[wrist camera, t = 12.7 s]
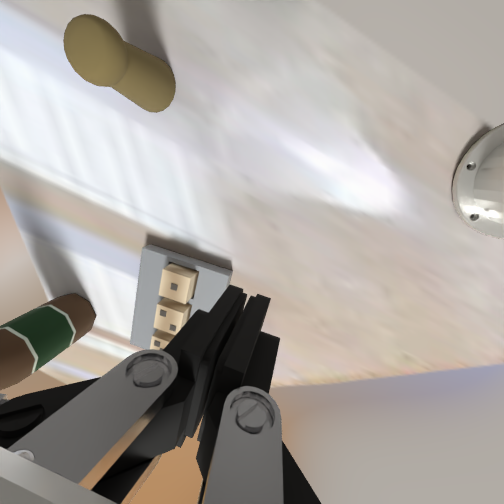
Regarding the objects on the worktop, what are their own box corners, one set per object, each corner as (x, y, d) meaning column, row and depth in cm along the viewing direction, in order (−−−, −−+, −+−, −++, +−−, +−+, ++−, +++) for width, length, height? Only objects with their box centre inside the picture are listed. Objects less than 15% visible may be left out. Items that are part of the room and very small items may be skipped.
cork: (172, 53, 31) (105, -8, 20) (178, 110, 32) (120, 80, 22) (126, 60, 32) (41, 5, 22) (135, 114, 34) (60, 88, 23)
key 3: (187, 330, 41) (176, 345, 38) (183, 350, 42) (172, 366, 39) (164, 322, 42) (151, 336, 38) (160, 342, 43) (148, 357, 39)
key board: (232, 270, 37) (229, 276, 35) (209, 362, 43) (204, 371, 41) (150, 244, 39) (142, 247, 37) (137, 336, 44) (130, 343, 42)
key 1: (200, 268, 38) (190, 278, 34) (195, 292, 39) (185, 304, 35) (175, 260, 38) (162, 269, 34) (171, 284, 39) (158, 295, 36)
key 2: (193, 301, 39) (183, 313, 36) (189, 322, 41) (178, 336, 37) (169, 292, 40) (156, 304, 36) (165, 314, 41) (153, 327, 38)
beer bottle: (80, 338, 47) (-127, 493, 24) (50, 306, 46) (-195, 434, 23) (106, 318, 44) (-100, 468, 22) (74, 283, 43) (-174, 402, 21)
